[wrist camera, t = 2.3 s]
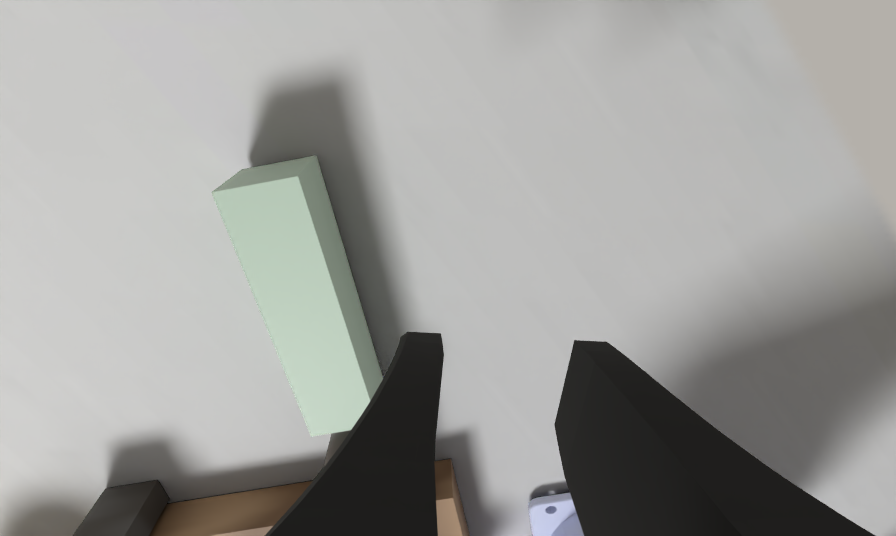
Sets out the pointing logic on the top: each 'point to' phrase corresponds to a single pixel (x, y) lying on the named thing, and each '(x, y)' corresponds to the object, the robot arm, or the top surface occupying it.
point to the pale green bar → (303, 288)
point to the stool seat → (235, 508)
